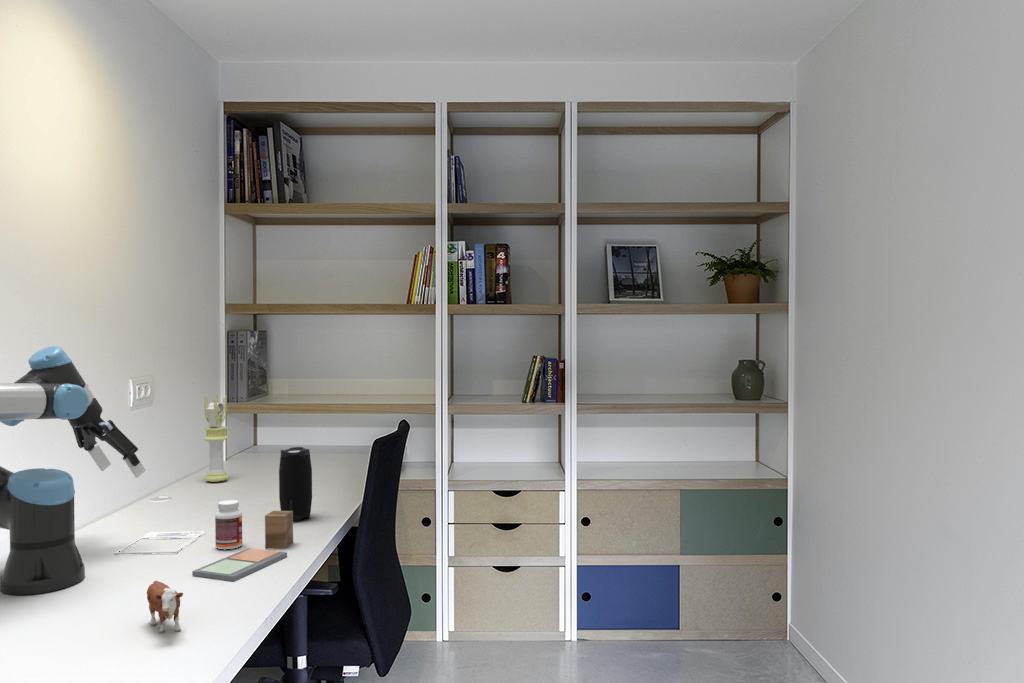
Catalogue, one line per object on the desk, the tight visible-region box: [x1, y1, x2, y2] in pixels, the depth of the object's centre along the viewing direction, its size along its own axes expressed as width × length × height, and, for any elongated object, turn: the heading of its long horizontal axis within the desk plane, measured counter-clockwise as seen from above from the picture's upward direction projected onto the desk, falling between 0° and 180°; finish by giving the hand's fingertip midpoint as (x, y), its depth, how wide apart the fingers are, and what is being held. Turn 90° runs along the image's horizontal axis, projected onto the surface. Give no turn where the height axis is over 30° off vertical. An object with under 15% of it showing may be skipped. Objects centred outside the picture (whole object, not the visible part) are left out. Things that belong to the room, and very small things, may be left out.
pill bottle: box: [214, 499, 243, 551], centre depth 184 cm, size 6×6×11 cm
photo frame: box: [113, 530, 207, 556], centre depth 188 cm, size 15×1×18 cm
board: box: [191, 547, 288, 582], centre depth 170 cm, size 18×11×1 cm, turn 160°
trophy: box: [203, 394, 230, 483], centre depth 263 cm, size 8×8×30 cm
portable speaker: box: [278, 446, 313, 523], centre depth 211 cm, size 9×9×20 cm
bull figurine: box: [146, 580, 184, 634], centre depth 135 cm, size 4×13×8 cm, turn 36°
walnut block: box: [264, 510, 294, 550], centre depth 185 cm, size 5×5×8 cm
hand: (123, 470), depth 191 cm, fingers open, 13 cm apart
